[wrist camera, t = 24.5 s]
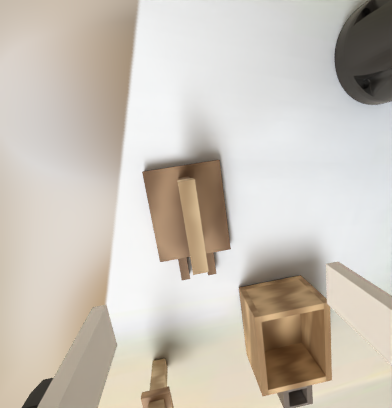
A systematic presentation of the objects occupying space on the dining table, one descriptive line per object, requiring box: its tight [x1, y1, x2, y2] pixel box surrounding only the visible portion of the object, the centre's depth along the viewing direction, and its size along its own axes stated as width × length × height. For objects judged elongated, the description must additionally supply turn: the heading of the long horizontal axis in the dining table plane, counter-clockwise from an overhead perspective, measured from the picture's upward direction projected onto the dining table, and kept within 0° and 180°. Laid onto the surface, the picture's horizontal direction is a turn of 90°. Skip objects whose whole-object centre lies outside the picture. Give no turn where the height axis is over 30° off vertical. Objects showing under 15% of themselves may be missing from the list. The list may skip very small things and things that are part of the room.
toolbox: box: [239, 275, 332, 408], centre depth 40 cm, size 12×19×8 cm, turn 8°
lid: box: [142, 160, 231, 280], centre depth 33 cm, size 12×19×10 cm, turn 9°
